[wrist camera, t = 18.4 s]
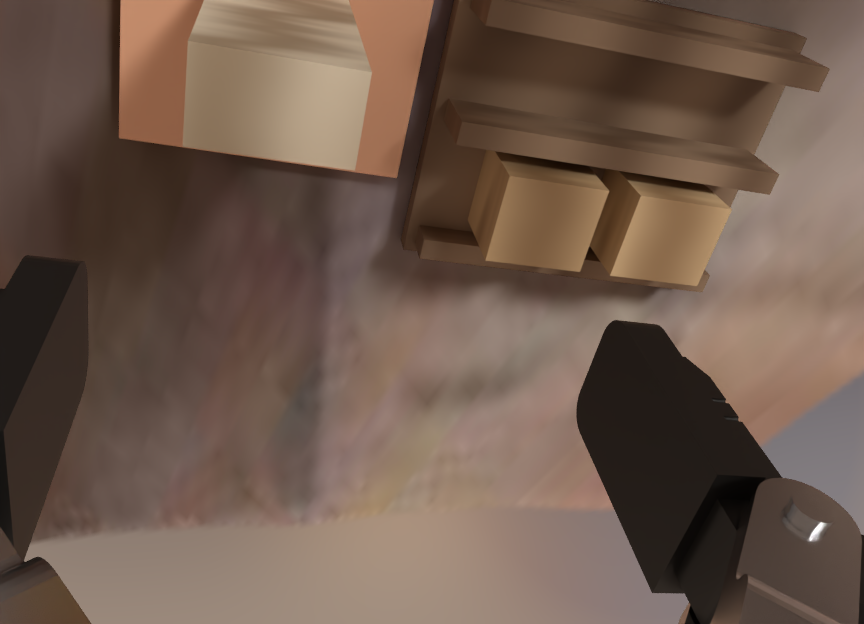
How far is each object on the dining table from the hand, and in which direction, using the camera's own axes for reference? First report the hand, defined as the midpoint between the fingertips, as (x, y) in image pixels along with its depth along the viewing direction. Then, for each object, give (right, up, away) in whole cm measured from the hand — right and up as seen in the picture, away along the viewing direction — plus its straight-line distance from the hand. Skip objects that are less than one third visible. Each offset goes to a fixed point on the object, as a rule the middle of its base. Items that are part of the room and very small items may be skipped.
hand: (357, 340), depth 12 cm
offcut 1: (+5, +6, +25) cm, 26 cm away
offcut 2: (+11, +6, +26) cm, 29 cm away
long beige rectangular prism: (-5, +12, +19) cm, 23 cm away
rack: (+9, +9, +25) cm, 28 cm away
